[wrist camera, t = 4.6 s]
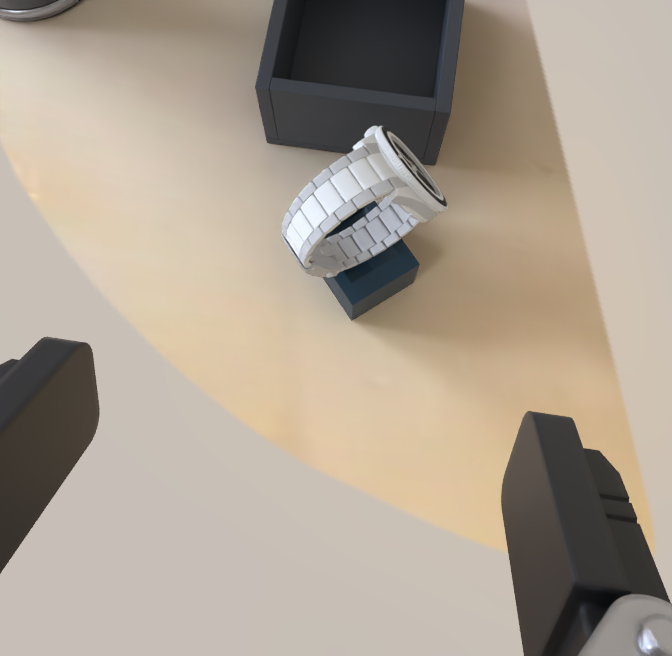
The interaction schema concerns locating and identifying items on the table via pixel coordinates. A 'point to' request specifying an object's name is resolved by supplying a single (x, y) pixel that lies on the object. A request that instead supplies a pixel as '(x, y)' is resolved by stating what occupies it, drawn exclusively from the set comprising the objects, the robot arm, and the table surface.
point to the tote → (359, 72)
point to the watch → (363, 221)
